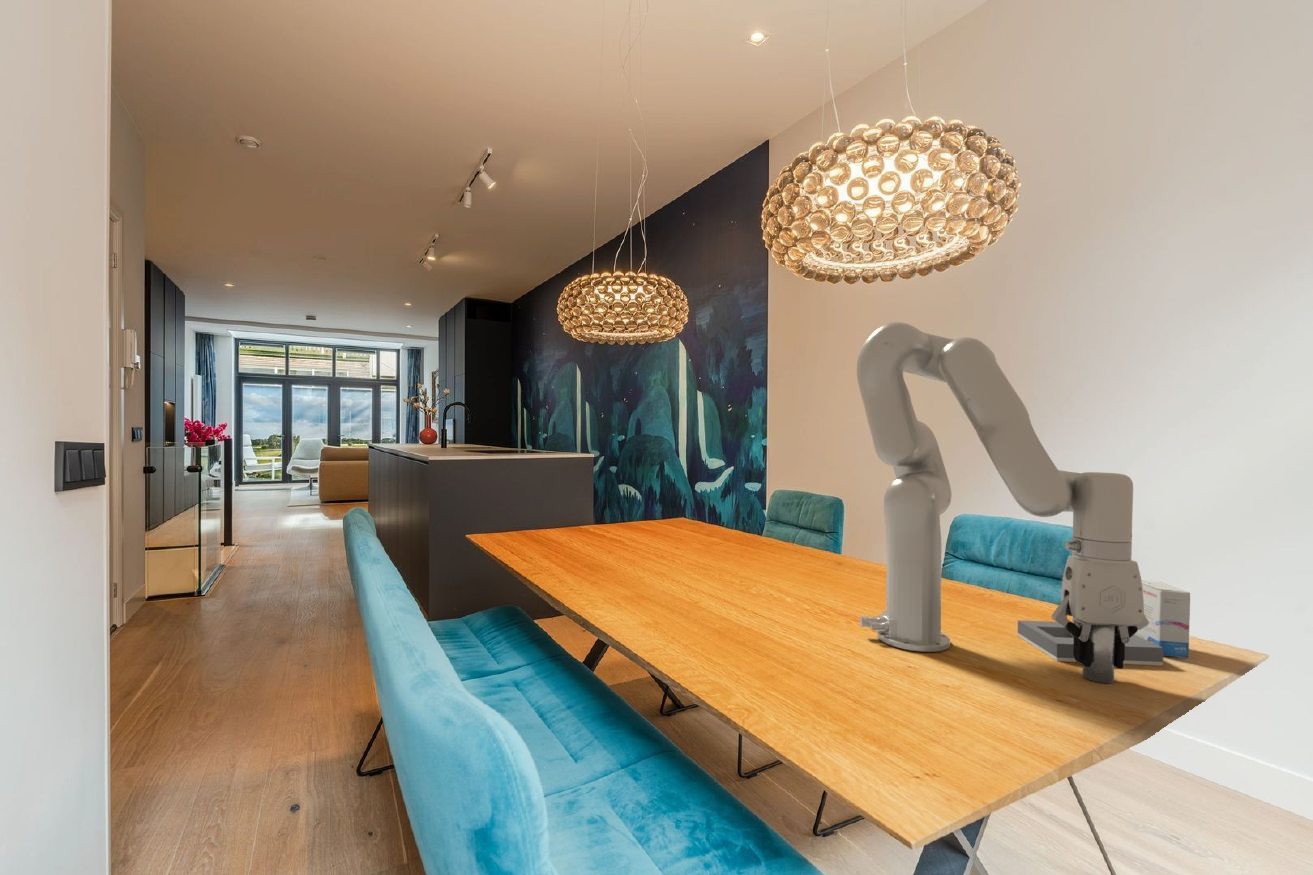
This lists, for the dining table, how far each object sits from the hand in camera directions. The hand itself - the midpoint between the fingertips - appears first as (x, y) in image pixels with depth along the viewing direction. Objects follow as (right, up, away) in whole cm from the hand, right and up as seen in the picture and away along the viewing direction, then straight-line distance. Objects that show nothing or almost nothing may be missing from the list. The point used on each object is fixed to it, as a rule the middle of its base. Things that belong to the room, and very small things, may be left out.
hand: (1098, 663), depth 94 cm
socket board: (+8, -3, +13) cm, 15 cm away
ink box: (+22, -3, +14) cm, 26 cm away
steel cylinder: (0, -2, 0) cm, 2 cm away
